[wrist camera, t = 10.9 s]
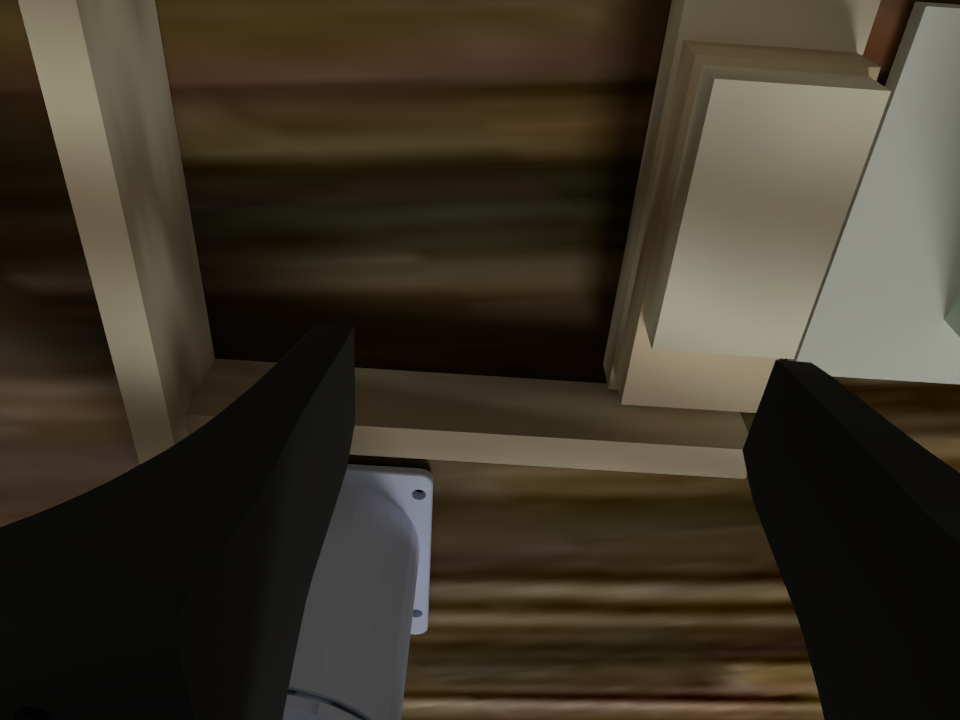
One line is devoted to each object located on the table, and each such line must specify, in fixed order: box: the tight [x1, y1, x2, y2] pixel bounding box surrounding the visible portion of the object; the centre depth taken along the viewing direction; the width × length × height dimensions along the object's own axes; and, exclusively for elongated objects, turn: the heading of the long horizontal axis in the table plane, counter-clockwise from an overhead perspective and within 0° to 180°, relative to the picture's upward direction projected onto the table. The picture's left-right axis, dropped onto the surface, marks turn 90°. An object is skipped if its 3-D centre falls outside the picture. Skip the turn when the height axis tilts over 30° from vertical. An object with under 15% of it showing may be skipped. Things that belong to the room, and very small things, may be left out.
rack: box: [18, 0, 891, 479], centre depth 20 cm, size 16×19×4 cm
